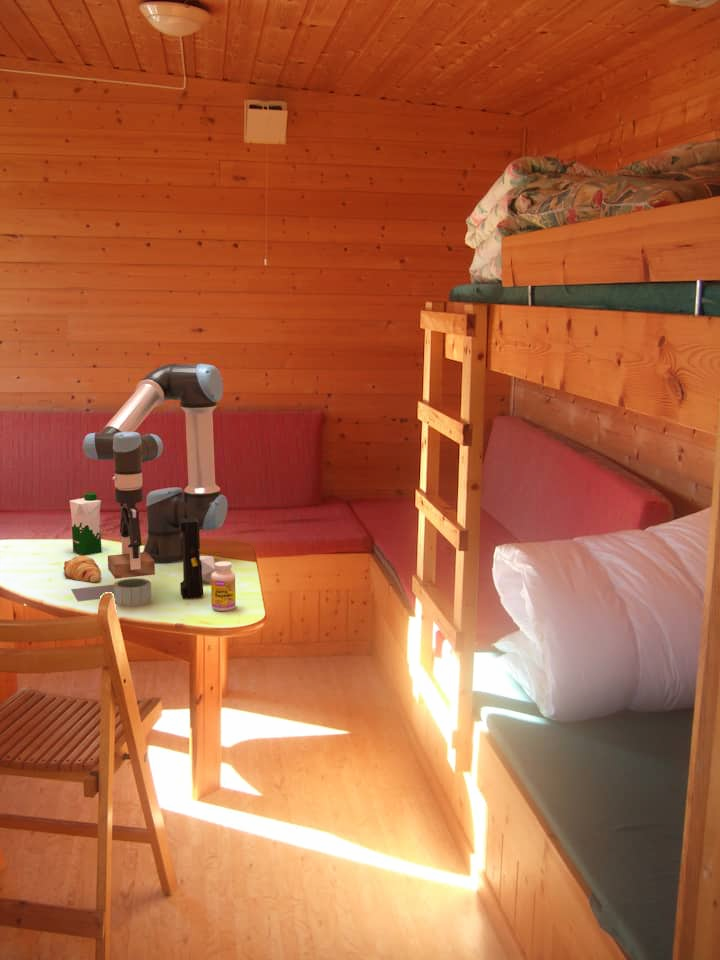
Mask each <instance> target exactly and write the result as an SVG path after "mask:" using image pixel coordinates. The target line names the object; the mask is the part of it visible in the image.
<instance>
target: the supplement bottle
mask: <svg viewBox="0 0 720 960" xmlns="http://www.w3.org/2000/svg"><path fill="white" fill-rule="evenodd" d="M232 569H233V568H232V562H230V561H217V562H216V563H215V572H213V573H212V575H211V583H210V584H211V585H210V587H211V589H210V590H211V591H210V594H211V599H210V600H211V608H212V609H213V610H214V611H217V612H228V611H232V610H234V609H235V608H236V574H235V572H233V571H232Z"/></svg>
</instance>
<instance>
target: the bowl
mask: <svg viewBox="0 0 720 960" xmlns="http://www.w3.org/2000/svg"><path fill="white" fill-rule="evenodd" d="M151 584H152V582H151V581H150V580H149V579H147V578H146V579H145V578H139V577H138V578H137V577H136V578H135V577H131V578H123V579H120V580H118V581H115V582H113V585H114V597H115V600H114V603H115V602H116V603H115V604H116V605H119V606H121V605H122V607H135V606H136V607H137V606H143V605H146V604H148V603H150V602H152V601H151V600H152V585H151ZM114 597H113V598H114Z"/></svg>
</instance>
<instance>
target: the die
mask: <svg viewBox="0 0 720 960" xmlns="http://www.w3.org/2000/svg"><path fill="white" fill-rule="evenodd" d="M200 561H201V564H202V583H203V584H211V575H212V573H213V572H215V563H217V562H216V560H215V558H214V556H209V555H205V556H204V555H200Z"/></svg>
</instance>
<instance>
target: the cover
mask: <svg viewBox="0 0 720 960" xmlns="http://www.w3.org/2000/svg"><path fill="white" fill-rule="evenodd" d="M140 563H141V569H136V570H130V554H122V553H121V554H120V553H119V554H112V555H111V554H110V555H107V569H108V571H109V572H110V574H111V575H112V577H113V578H114V579H115V580H116V579H117V580H119V579H129V578H135V577H136V578H137V577H147V576H155V575H156V565H155V564H156V563H155V561H154V560H153V559H152V557H151V556H150V555H149V554H148V553H147V552H143V551H142V552H141V551H140Z"/></svg>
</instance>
